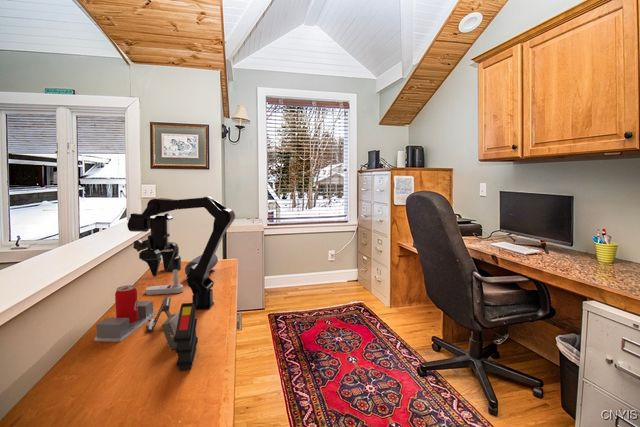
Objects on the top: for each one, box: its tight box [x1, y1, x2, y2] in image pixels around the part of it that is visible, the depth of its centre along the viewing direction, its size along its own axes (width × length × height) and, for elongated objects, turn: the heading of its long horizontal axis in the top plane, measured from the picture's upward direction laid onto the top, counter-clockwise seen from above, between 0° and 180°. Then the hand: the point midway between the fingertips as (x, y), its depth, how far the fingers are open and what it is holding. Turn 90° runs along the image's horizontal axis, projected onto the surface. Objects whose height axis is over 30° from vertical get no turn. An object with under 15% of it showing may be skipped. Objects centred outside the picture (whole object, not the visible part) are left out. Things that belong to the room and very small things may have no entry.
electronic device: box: [145, 270, 184, 296], centre depth 145 cm, size 5×10×15 cm
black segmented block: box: [174, 302, 199, 372], centre depth 90 cm, size 4×13×15 cm, turn 13°
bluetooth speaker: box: [184, 254, 219, 276], centre depth 172 cm, size 23×9×10 cm, turn 178°
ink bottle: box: [162, 246, 182, 272], centre depth 182 cm, size 10×9×12 cm
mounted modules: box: [95, 300, 154, 338], centre depth 111 cm, size 7×20×4 cm, turn 0°
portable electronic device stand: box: [146, 296, 172, 334], centre depth 111 cm, size 9×8×8 cm
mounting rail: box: [93, 310, 156, 343], centre depth 111 cm, size 8×21×1 cm, turn 0°
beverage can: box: [114, 284, 139, 325], centre depth 110 cm, size 6×6×12 cm
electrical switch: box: [161, 310, 180, 351], centre depth 99 cm, size 9×5×9 cm, turn 2°
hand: (160, 272), depth 128 cm, fingers open, 9 cm apart
